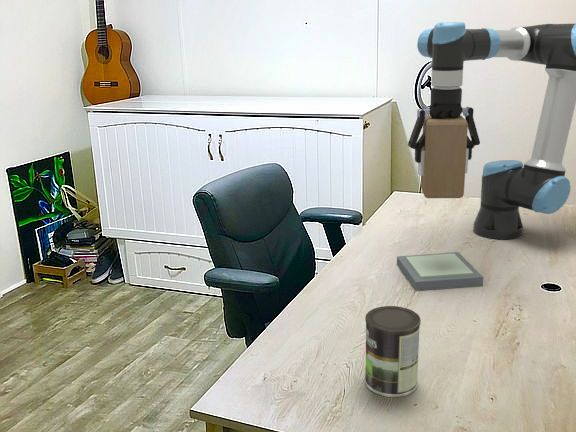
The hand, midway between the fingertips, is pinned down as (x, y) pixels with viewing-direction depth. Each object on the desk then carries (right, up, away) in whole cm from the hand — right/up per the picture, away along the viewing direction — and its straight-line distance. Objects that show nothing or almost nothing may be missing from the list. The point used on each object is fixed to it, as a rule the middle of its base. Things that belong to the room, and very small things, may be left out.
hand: (442, 173), depth 163 cm
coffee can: (-20, -44, -40) cm, 62 cm away
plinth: (+1, -27, +9) cm, 28 cm away
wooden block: (0, -5, +2) cm, 6 cm away
